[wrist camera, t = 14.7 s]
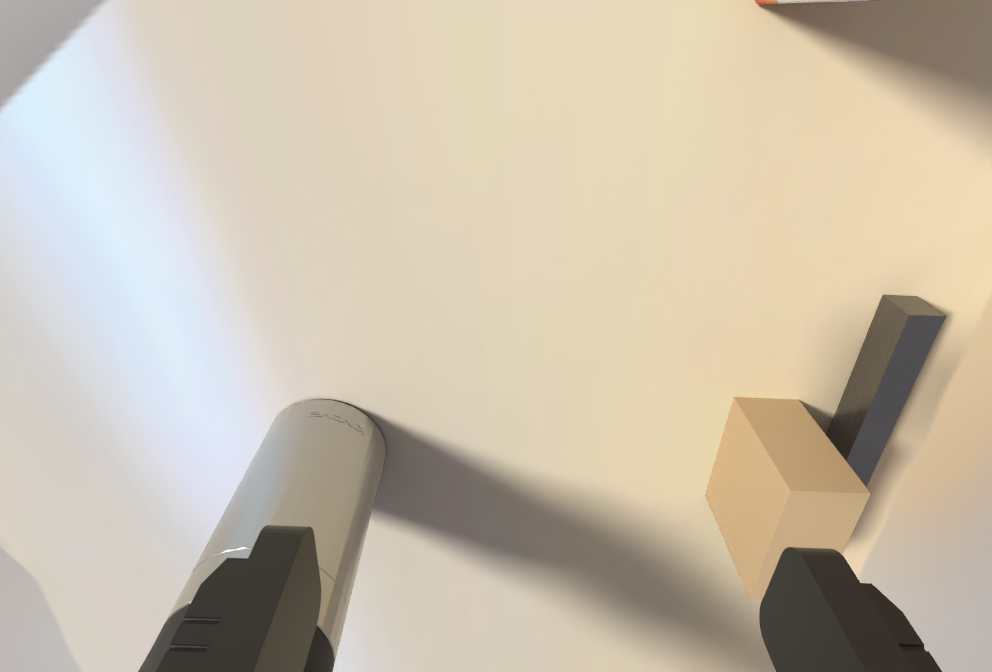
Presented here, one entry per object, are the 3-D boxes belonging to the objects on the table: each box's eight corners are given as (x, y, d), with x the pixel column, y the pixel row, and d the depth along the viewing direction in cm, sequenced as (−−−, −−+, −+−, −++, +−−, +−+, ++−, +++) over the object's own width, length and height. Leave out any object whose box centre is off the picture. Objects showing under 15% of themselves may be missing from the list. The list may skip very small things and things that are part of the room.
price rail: (801, 572, 54) (816, 601, 52) (772, 571, 54) (786, 600, 52) (921, 296, 41) (950, 316, 38) (882, 294, 41) (909, 314, 38)
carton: (767, 496, 50) (824, 600, 41) (704, 494, 50) (749, 598, 41) (802, 399, 45) (875, 493, 36) (733, 396, 45) (790, 490, 36)
